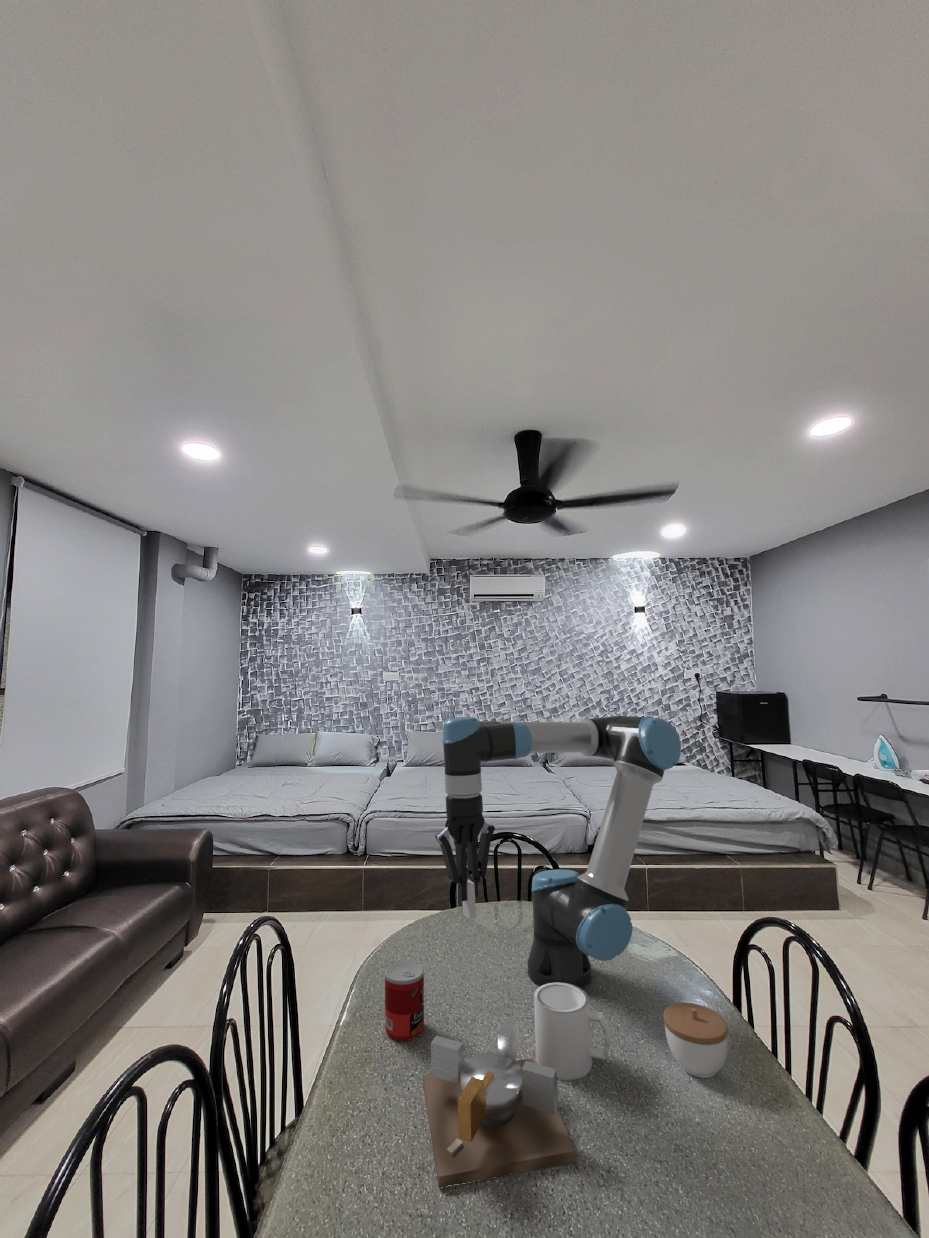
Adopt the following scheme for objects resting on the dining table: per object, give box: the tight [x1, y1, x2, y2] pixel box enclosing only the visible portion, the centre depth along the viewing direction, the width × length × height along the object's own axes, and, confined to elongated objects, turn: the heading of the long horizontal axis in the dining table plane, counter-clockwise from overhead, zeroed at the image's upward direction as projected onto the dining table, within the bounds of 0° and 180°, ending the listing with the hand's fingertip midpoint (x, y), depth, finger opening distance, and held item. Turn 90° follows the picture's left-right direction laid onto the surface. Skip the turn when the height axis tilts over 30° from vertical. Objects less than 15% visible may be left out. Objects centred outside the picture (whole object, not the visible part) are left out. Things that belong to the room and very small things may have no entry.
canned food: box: [384, 961, 425, 1042], centre depth 109 cm, size 8×8×11 cm
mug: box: [533, 982, 611, 1081], centre depth 98 cm, size 14×10×11 cm
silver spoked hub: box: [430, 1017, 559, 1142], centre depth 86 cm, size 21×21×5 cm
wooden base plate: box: [422, 1057, 577, 1189], centre depth 85 cm, size 20×20×4 cm
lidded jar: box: [663, 1002, 729, 1079], centre depth 97 cm, size 11×11×9 cm
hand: (469, 915), depth 106 cm, fingers closed
